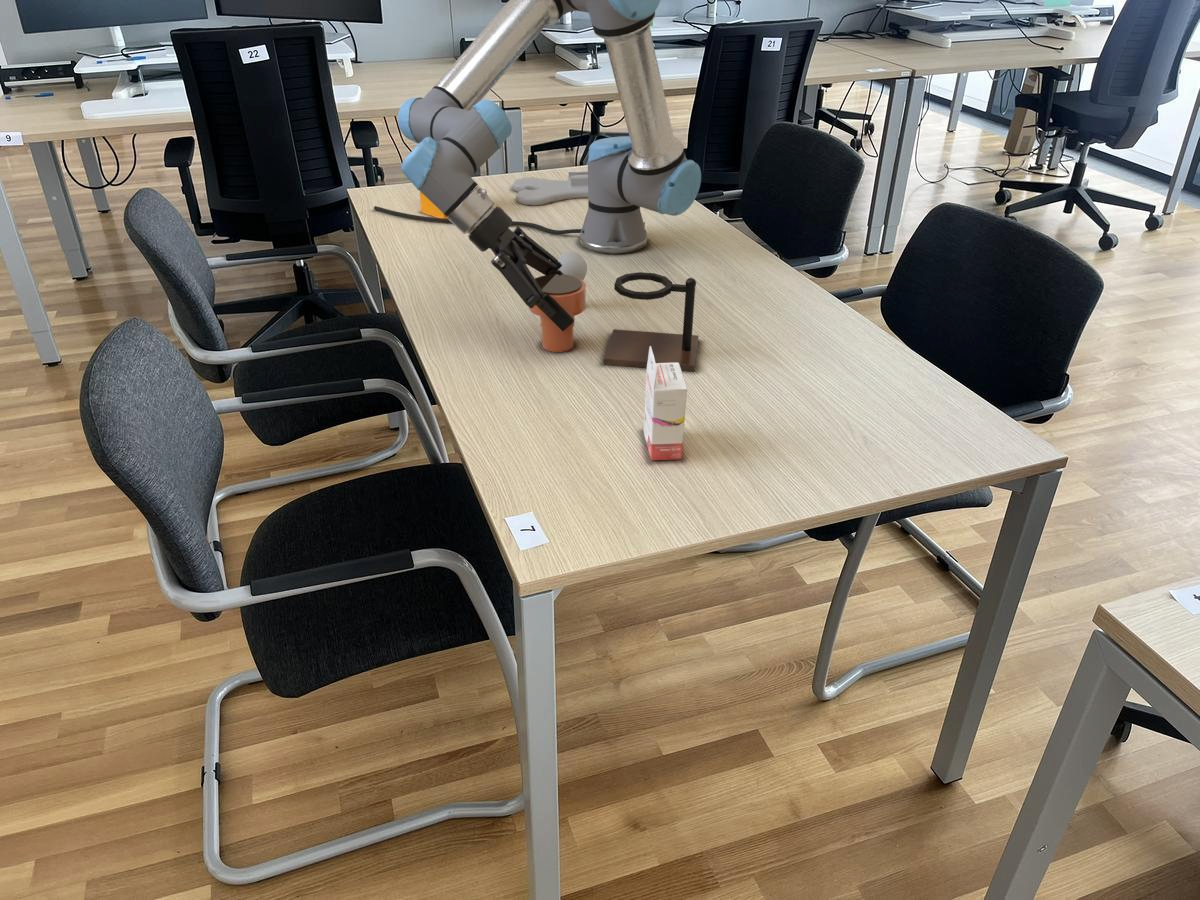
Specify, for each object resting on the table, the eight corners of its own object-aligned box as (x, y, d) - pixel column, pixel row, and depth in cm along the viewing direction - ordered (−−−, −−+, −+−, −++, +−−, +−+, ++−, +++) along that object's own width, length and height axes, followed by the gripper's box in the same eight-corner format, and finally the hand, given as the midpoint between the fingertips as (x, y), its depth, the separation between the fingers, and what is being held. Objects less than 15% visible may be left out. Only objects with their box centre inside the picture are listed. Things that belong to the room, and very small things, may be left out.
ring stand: (610, 355, 159) (611, 284, 152) (617, 332, 167) (619, 263, 160) (689, 361, 157) (694, 289, 150) (693, 337, 165) (698, 268, 158)
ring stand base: (603, 364, 159) (603, 358, 158) (613, 335, 169) (613, 329, 168) (694, 371, 157) (694, 365, 156) (698, 341, 167) (698, 335, 166)
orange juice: (443, 220, 222) (436, 135, 211) (420, 212, 227) (413, 128, 216) (468, 212, 227) (463, 129, 216) (445, 205, 232) (439, 123, 221)
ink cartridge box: (683, 460, 133) (690, 370, 126) (649, 461, 133) (654, 371, 125) (674, 429, 141) (680, 342, 133) (642, 430, 140) (646, 343, 132)
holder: (650, 200, 236) (651, 181, 234) (518, 206, 231) (517, 187, 228) (635, 179, 252) (635, 161, 249) (511, 185, 247) (510, 166, 244)
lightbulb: (592, 304, 180) (592, 250, 174) (578, 316, 176) (578, 261, 170) (564, 298, 183) (563, 245, 177) (550, 310, 178) (549, 255, 172)
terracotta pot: (518, 346, 164) (515, 284, 158) (555, 328, 171) (553, 268, 164) (560, 363, 159) (560, 299, 153) (597, 343, 166) (597, 282, 159)
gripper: (478, 228, 143) (578, 327, 150) (511, 185, 162) (598, 275, 169) (448, 258, 147) (547, 354, 153) (484, 213, 166) (570, 300, 172)
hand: (574, 313), depth 161 cm, fingers closed on terracotta pot, 10 cm apart
